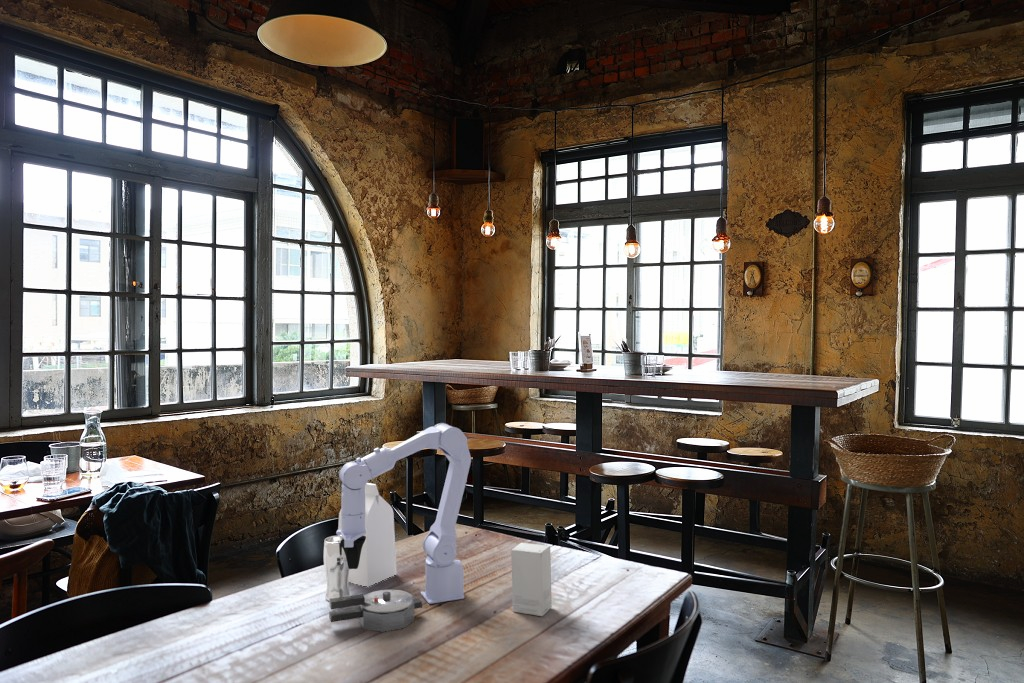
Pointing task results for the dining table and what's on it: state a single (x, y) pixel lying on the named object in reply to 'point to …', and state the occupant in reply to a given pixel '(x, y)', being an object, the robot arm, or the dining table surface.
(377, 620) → the pot
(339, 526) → the milk
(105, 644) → the dining table surface
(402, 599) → the lid
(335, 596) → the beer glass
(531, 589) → the skincare box
